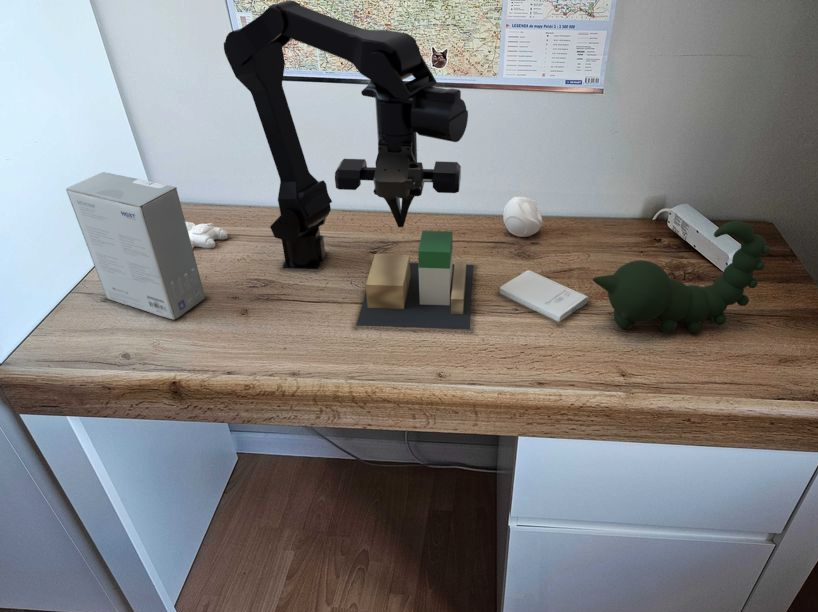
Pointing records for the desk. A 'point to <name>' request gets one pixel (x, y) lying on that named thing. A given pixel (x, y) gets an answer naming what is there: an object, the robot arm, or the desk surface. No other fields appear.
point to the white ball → (522, 217)
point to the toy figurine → (684, 287)
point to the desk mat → (420, 309)
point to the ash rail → (458, 287)
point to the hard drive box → (138, 243)
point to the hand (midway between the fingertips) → (401, 226)
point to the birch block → (388, 281)
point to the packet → (435, 267)
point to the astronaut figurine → (204, 234)
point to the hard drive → (543, 295)
